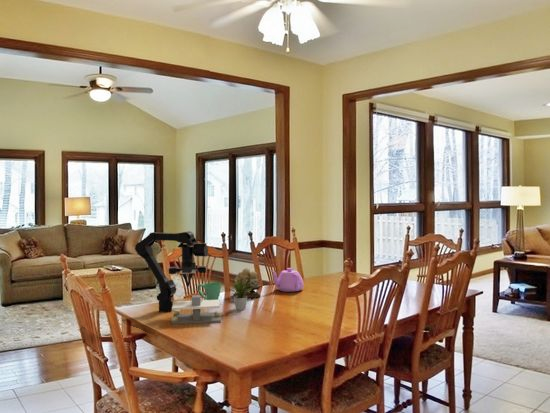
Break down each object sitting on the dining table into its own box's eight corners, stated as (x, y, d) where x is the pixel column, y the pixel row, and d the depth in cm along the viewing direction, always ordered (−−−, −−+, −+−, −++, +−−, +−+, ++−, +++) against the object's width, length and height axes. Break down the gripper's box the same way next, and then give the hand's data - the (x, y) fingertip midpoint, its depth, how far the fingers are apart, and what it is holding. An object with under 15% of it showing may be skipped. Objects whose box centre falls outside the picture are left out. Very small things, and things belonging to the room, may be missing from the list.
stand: (170, 324, 222) (170, 312, 222) (174, 315, 238) (174, 304, 238) (220, 322, 225) (220, 310, 225) (220, 313, 241) (220, 302, 241)
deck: (171, 310, 223) (171, 299, 223) (174, 303, 237) (174, 293, 237) (219, 308, 226) (219, 297, 225) (219, 301, 239) (219, 291, 239)
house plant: (250, 313, 241) (250, 281, 241) (224, 312, 244) (223, 280, 244) (257, 306, 255) (256, 276, 255) (232, 305, 258) (231, 275, 258)
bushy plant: (265, 296, 282) (265, 267, 282) (256, 300, 272) (255, 270, 271) (239, 293, 290) (238, 265, 290) (228, 297, 280) (228, 268, 279)
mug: (224, 300, 270) (224, 283, 270) (215, 304, 261) (215, 286, 261) (203, 298, 276) (202, 281, 276) (193, 302, 267) (192, 284, 267)
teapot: (263, 289, 301) (262, 267, 301) (292, 285, 312) (292, 264, 311) (279, 295, 282) (279, 272, 282) (311, 291, 292) (310, 269, 292)
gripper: (167, 258, 236) (167, 290, 236) (205, 257, 238) (205, 289, 238) (169, 255, 247) (170, 286, 247) (206, 255, 249) (206, 284, 250)
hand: (188, 286), depth 245 cm, fingers closed
